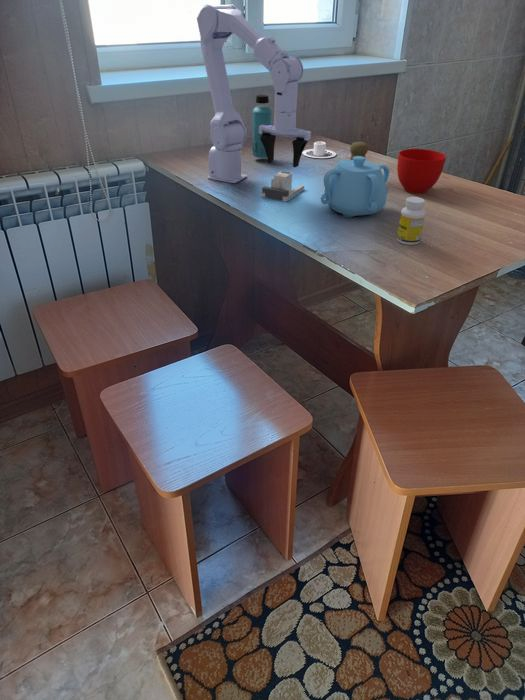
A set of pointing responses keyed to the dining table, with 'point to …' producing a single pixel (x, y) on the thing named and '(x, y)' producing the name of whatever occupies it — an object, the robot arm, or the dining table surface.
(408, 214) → the supplement bottle
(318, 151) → the candle holder
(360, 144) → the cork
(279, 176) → the plug block
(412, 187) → the ceramic cup
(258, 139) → the beverage bottle
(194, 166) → the dining table surface
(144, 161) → the dining table surface
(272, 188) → the socket
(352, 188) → the decorative pot
